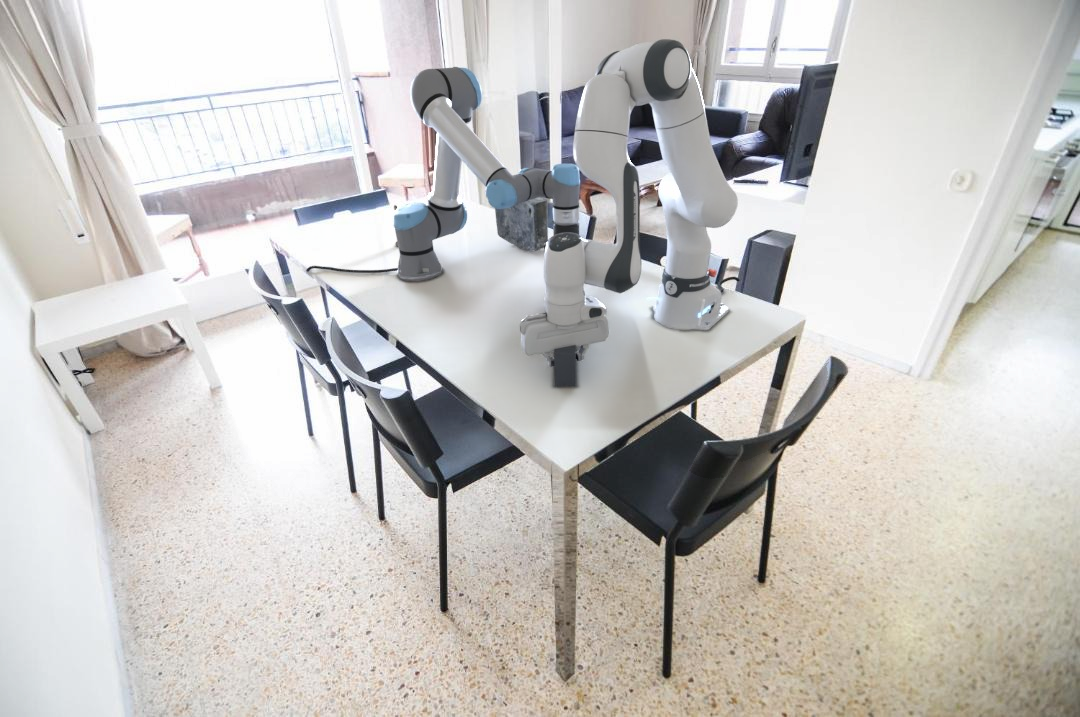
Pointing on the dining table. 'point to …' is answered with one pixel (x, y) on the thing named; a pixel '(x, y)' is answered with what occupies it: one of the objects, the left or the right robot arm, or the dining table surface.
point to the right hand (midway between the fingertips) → (565, 362)
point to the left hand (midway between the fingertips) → (566, 296)
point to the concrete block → (524, 224)
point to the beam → (565, 366)
